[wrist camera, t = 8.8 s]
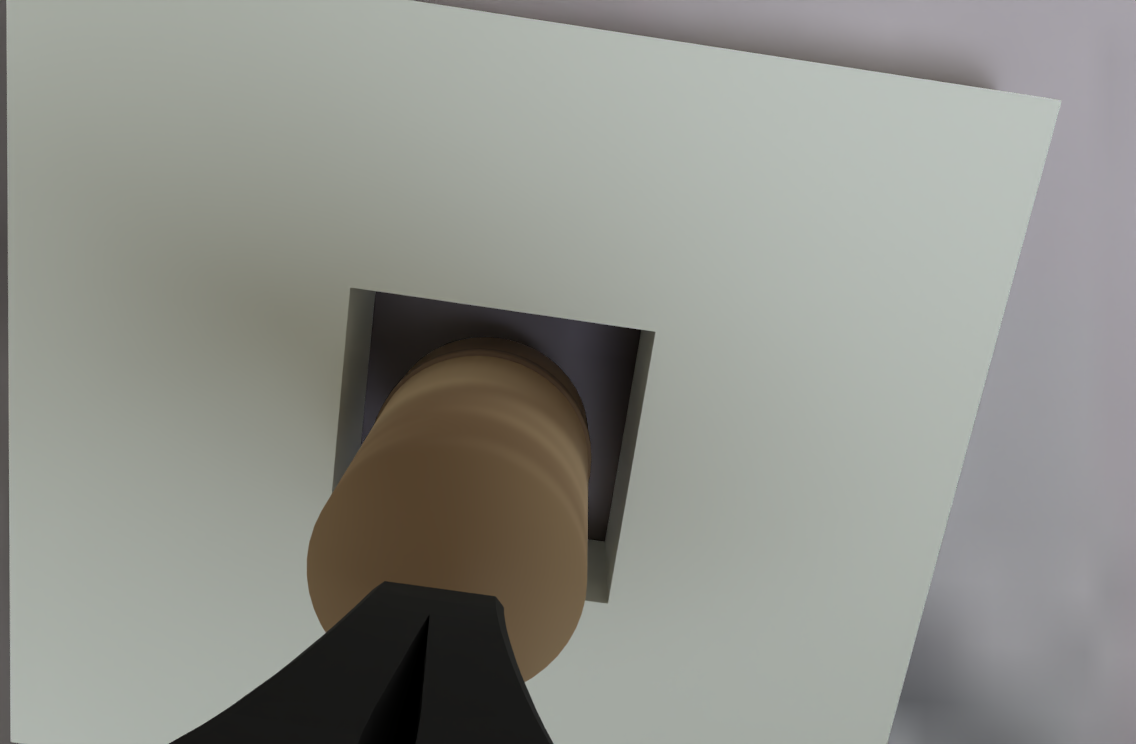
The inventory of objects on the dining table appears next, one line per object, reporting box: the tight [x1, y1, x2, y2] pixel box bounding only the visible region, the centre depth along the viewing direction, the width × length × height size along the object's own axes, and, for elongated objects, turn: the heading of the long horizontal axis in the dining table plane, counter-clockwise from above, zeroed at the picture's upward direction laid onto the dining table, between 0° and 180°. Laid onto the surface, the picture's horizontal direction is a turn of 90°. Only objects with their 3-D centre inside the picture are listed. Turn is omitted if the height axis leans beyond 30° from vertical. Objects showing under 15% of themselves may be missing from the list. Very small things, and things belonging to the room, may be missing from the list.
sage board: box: [6, 0, 1062, 744], centre depth 19 cm, size 16×14×2 cm
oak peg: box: [307, 337, 591, 682], centre depth 17 cm, size 4×4×7 cm
